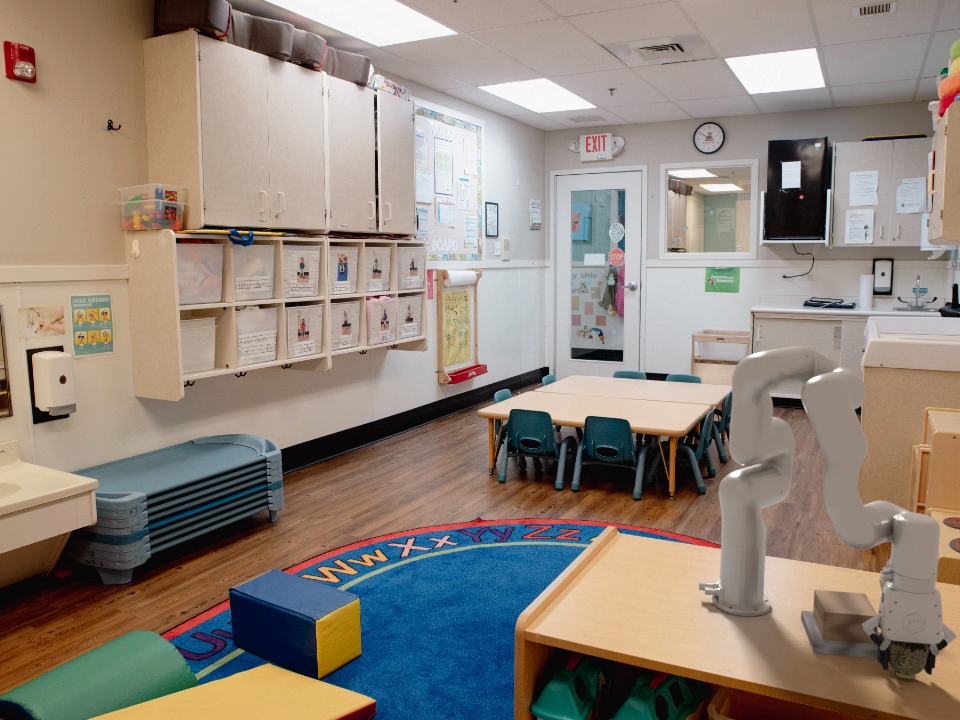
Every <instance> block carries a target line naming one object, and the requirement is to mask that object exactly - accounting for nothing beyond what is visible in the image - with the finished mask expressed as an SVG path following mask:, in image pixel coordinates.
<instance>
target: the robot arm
mask: <svg viewBox="0 0 960 720" xmlns="http://www.w3.org/2000/svg"><path fill="white" fill-rule="evenodd" d="M799 386H800V387H801V389H800V400H801V402H802V405H803V408H804V410H805V412H806V416H807V417H808V421H809V424H810V425H811V428H812V430H813V433H814V435H815V438H816V440H817V443H818V446H819V448H820V450H821V454H822V457H823V459H824V462H823V463H824V464H823V468H822V469H823V470H822V495H823V502H824V506H825V508H826V510H827V513H828V515H829V518H830V521H831V524H832V526H833V528H834V530H835V532H836V534H837V536H838V537H839V539H840V540H841V541H842V542H843V544H845V545H846V546H847V547H849V548H851V549H854V550H857V551H864V550H870V549H871V548H875V547H876V546H879V545H881V544H883V543H890V542H891V548H890V549H891V551H890V558H891V563H890V567H889V570H888V572H882V573H880V576H881V578H882V579H886V580H888V581H886V583H885V585H884V588H883V591H881V596H880V598H879V599H880V600H879V605H878V612H877V615H876V616H874V617H872V618H871V619H869V620H868V621H866V622H864V623H863V624H862V625H861V626H862V628H863V630H864V631H865V632H866V634H867V635H868V636H869V637H870V638H871V640H872V641H873V642H874V643H875V644H876V645H877V646H878V652H877V659H876V660H877V663H878V664H880V666H881V668H882V670H883V671H889V665H890V664H889V650H888V649H887V647H888V646H889V645H890V643H891V642H892V641H897V642H907V643H918V644H928V646H929V645H930V644H931V646H930V649H928V650H929V654H928V658H927V661H926V665H925V667H924V669H923V670H924V671H925V673H926V674H927V675H930V676H932V675H933V669H935V667H936V657H937V656H938V655H939V654H940V652H941V651H942V650H943V649H945V648H946V647H948V644H950V643H951V642H953V641H954V640H955V639H956V638H957V634H956V633H955V632H954V630H952V629H951V628H950V627H949V626H948V625H946V623H944V622H943V603H942V596H941V592H940V590H939V589H938V587H936V584H937V570H938V561H939V560H938V558H939V550H940V549H939V547H940V537H941V536H940V535H941V527H940V523H939V521H938V520H937V519H936V518H934V517H933V516H930V515H927V514H923V513H919V512H912V511H910V510H908V509H905V508H903V507H901V506H899V505H897V504H895V503H894V502H893V503H892V502H890V501H886V500H873V501H871V502H869V503H866V504H863V501H862V497H861V495H860V490H859V484H858V483H859V474H860V473H859V472H860V469H861V467H862V464H863V463H864V460H865V458H866V456H867V454H868V451H869V449H870V448H869V447H870V445H869V442H868V441H869V440H868V439H867V437H866V436H867V435H866V434H865V431H864V430H863V427H862V425H861V422H860V420H859V418H858V415H857V413H856V409H858V408H860V407H861V406H862V405H863V404H864V403H865V401H866V399H867V388H866V385H865V383H864V381H863V380H862V378H861V377H860V376H859V374H857V373H856V372H854V371H853V370H851V369H850V368H848V367H846V366H844V365H843V364H841V363H839V362H836V361H835V360H833V359H831V358H830V357H828V356H826V355H825V354H822V353H820V352H819V351H817V350H815V349H812V348H811V347H806V346H802V345H795V346H794V345H793V346H788V347H782V348H773V349H769V350H762V351H758V352H756V353H755V352H754V353H752V354H750V355H748V356H746V357H744V358H743V359H741V360H740V361H739V362H738V363H737V364H736V366H735V368H734V370H733V373H732V377H731V394H732V395H731V396H732V397H731V398H732V399H731V412H730V421H729V422H730V423H729V438H728V451H729V455H730V457H731V459H732V460H733V461H734V462H736V464H739V465H741V466H746V467H742V468H740V469H739V468H738V469H736V470H733V471H732V472H729V473H728V474H727V475H725V476H724V477H723V478H722V480H721V481H720V483H719V485H718V486H719V487H718V500H719V505H720V506H719V507H720V513H721V534H720V535H721V539H720V540H721V543H720V544H721V545H720V546H721V547H720V567H719V568H720V571H719V573H720V574H719V577H717V579H716V580H717V581H712V582H706V581H698V591H704V595H708V596H711V600H712V603H713V604H714V606H715V607H716V608H718V609H719V610H721V611H723V612H726V613H728V614H731V615H736V616H741V617H755V616H762V615H764V614H766V613H768V612H769V611H770V610H771V600H770V599H769V598H768V596H767V595H765V594H764V593H765V592H764V590H765V572H766V571H765V570H766V551H767V550H766V549H767V528H766V527H767V526H766V523H765V521H764V518H763V515H762V510H763V509H766V508H768V507H771V506H773V505H777V504H779V503H781V502H783V501H784V500H785V499H786V498H787V497H788V496H789V493H790V491H791V489H792V483H793V473H794V472H793V471H794V463H795V453H796V452H795V451H796V450H795V449H796V441H795V440H796V439H795V435H794V432H793V429H792V427H791V426H790V425H789V423H787V421H785V420H784V419H782V418H779V417H778V416H773V412H774V404H773V403H774V402H773V399H772V398H773V397H772V395H771V393H770V392H772V391H777V390H783V389H789V388H795V387H799ZM876 626H878V627H877V628H878V629H879V630H880V634H879V635H877V634H876V633H875V632H874V631H873V628H875V627H876Z"/></svg>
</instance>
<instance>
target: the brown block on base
mask: <svg viewBox="0 0 960 720" xmlns="http://www.w3.org/2000/svg"><path fill="white" fill-rule="evenodd" d="M813 591H814V594H813V608H812V609H813V611H812V610H811V611H809V610H801V612H800V621H801V622H802V626H803V628H804V630H805V634H806V637H807V639H808V642H809V645H810V648H811V650H812V653H813V654H822V655H834V656H845V657H853V658H854V657H855V658H865V659H866V658H867V659H874V660H875V659H876V660H877V652H878V646H877V645H876V644H875V643H874V642H873V641H872V640H871V638H870V637H869V636H868V635H867V634H866V632H865V631H864V630H863V628H862V626H861V625H862V624H863V623H864V622H866V621H868V620H869V619H871V618H872V617H874V616H876V615H877V614H878V612H877V611H876V610H875V608H874V606H873V605H872V603H871V601H870V599H869V598H868V596H867V595H866V593H862V592H851V591H836V590H835V591H834V590H825V589H814V590H813ZM873 631H874V632H875V633H876V634H877V635H879V634H880V633H881V631H880V629H879V627H878V626H876V627H875V628H873Z"/></svg>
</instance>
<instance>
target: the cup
mask: <svg viewBox="0 0 960 720" xmlns="http://www.w3.org/2000/svg"><path fill="white" fill-rule="evenodd" d="M930 646H931V644H930V645H929V646H928V644H918V643H907V642H897V641H892V642H891V643H890V645H889V646H888V647H887V649H888V650H889V665H890V666H891V668H892V669H893V674H894V676H895V677H896V678H897V679H899V680H900V681H903V682H912V681H914V680H915V679H916V677H917V674H920V673H922V671H923V670H924V667H925V665H926V661H927V658H928V654H929V650H928V649H930Z"/></svg>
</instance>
